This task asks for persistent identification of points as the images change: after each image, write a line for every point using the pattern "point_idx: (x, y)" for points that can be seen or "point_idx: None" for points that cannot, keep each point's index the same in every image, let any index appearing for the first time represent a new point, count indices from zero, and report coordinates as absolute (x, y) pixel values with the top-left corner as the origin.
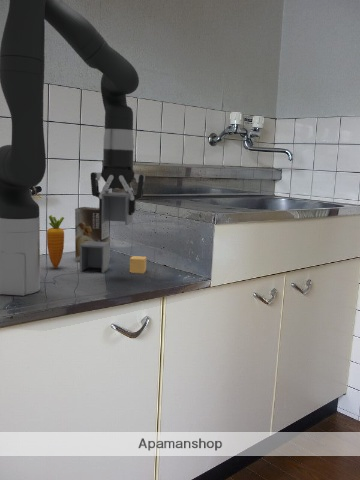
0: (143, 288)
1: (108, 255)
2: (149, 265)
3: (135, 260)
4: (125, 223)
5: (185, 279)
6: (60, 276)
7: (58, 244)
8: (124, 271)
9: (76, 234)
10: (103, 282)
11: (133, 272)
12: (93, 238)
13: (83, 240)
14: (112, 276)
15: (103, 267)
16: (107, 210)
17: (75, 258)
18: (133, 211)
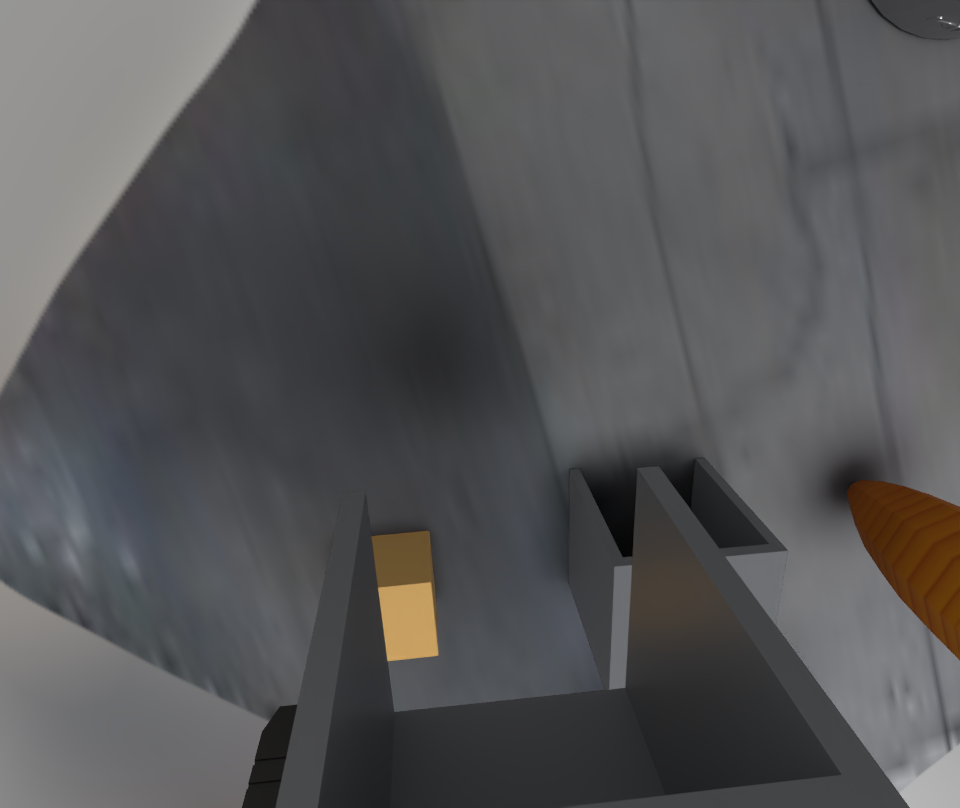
0: (222, 195)
1: (586, 620)
2: None
3: (394, 580)
4: (358, 498)
5: (59, 487)
6: (790, 322)
7: (940, 541)
8: (464, 544)
9: None
10: (509, 264)
11: (406, 534)
12: None
13: None
14: (498, 417)
15: (577, 490)
16: (674, 736)
17: None
18: (276, 725)
